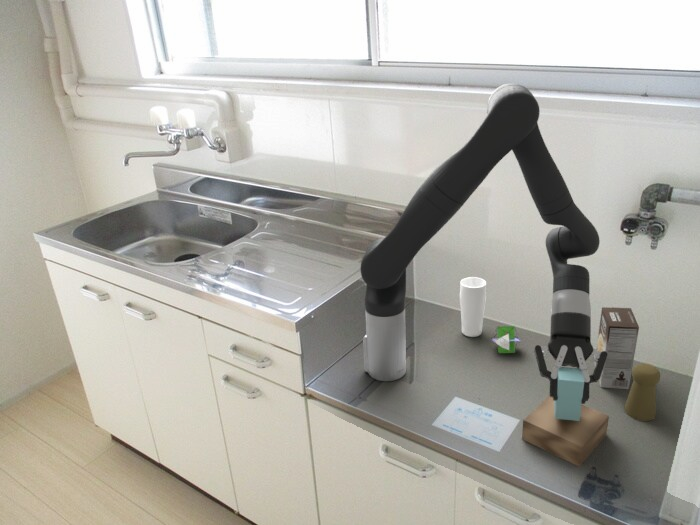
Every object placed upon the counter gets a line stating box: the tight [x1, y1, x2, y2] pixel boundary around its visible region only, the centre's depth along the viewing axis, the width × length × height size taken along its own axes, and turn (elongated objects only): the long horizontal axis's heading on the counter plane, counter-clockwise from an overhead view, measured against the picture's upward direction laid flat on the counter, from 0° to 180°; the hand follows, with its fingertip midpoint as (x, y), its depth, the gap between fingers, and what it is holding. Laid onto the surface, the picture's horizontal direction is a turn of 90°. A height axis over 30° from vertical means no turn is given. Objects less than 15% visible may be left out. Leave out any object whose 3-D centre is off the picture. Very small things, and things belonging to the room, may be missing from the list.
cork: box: [623, 363, 661, 422], centre depth 123 cm, size 6×6×11 cm
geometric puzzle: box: [490, 325, 522, 354], centre depth 148 cm, size 7×7×8 cm
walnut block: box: [521, 394, 610, 468], centre depth 118 cm, size 12×12×5 cm
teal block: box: [554, 366, 584, 421], centre depth 115 cm, size 4×4×9 cm
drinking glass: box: [459, 276, 487, 338], centre depth 156 cm, size 7×7×15 cm
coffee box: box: [594, 306, 640, 390], centre depth 134 cm, size 9×6×16 cm
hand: (569, 401), depth 114 cm, fingers closed on teal block, 4 cm apart
